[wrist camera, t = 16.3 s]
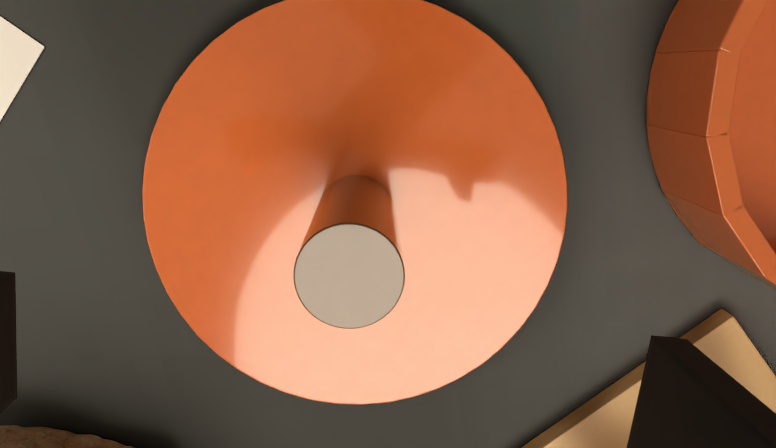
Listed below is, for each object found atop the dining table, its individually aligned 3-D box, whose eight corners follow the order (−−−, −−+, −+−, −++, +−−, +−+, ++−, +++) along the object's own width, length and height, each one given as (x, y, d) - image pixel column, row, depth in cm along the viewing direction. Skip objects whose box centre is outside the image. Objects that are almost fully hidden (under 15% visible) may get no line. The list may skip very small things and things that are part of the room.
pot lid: (391, -105, 25) (402, -211, 16) (637, 237, 28) (769, 320, 19) (64, 174, 27) (-100, 230, 18) (329, 460, 31) (310, 634, 21)
